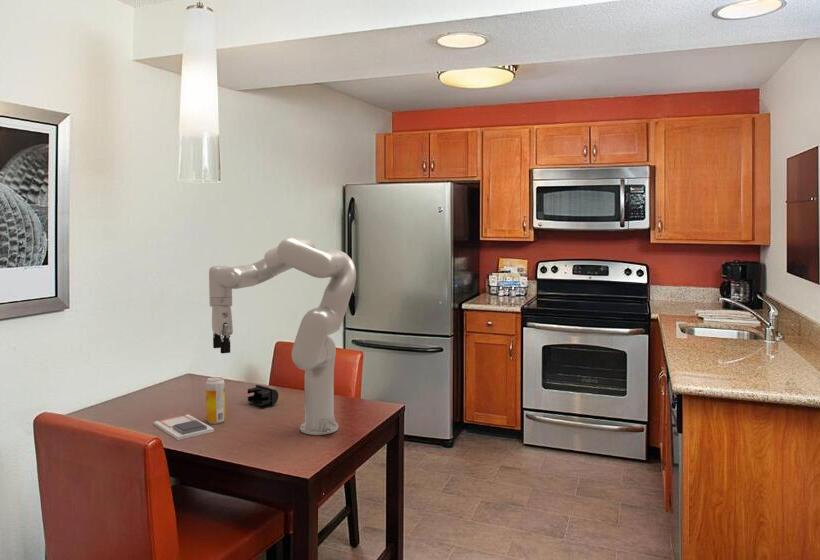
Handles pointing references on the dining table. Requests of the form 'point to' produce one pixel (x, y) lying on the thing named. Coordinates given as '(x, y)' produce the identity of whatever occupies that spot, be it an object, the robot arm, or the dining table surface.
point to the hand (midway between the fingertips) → (221, 350)
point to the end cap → (262, 397)
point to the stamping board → (183, 427)
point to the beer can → (215, 400)
